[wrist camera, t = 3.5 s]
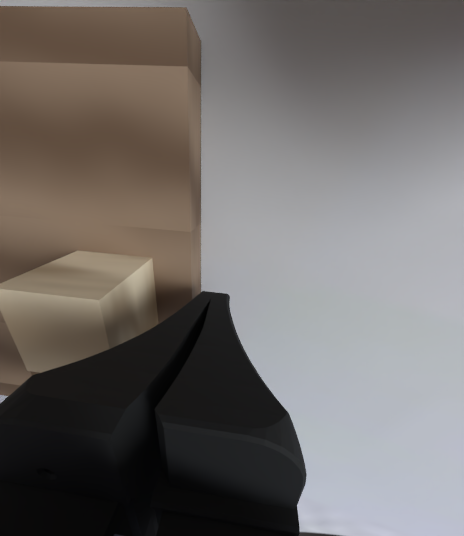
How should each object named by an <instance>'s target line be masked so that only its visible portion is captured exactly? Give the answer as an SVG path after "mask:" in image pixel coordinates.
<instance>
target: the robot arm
mask: <svg viewBox="0 0 464 536" xmlns="http://www.w3.org/2000/svg"><path fill="white" fill-rule="evenodd" d="M229 299H230V296H229V295H228V294H223V293H214V292H205V291H202V292H201V293H200V294H198V295H197V296H196V297H195V298H193V299H192V300H191V301H190V302H189V303H187V304H186V305H185V306H183V307H182V308H181V309H180V310H178V311H177V312H176V313H174V314H173V315H171V316H170V317H168V318H167V319H166V320H164V321H163V322H161V323H160V324H158V325H156V326H155V327H153V328H151V329H149V330H148V331H146V332H144V333H142V334H140V335H138V336H136V337H134V338H132V339H130V340H128V341H126V342H124V343H122V344H119V345H117V346H115V347H113V348H111V349H108V350H106V351H103V352H101V353H98V354H96V355H93V356H90V357H87V358H85V359H82V360H79V361H76V362H73V363H70V364H67V365H64V366H61V367H58V368H54V369H51V370H48V371H45V372H42V373H38V374H35V375H32V376H31V377H30V378H29V379H27V380H26V381H25V382H24V383H23V384H22V385H21V386H20V387H18V388H17V389H16V390H15V391H14V392H13V393H12V394H11V395H9V396H8V397H7V398H6V399H5V400H4V401H3V402H2V403H1V404H0V536H299V520H298V512H297V504H298V501H299V499H300V496H301V494H302V491H303V488H304V486H305V482H306V469H305V463H304V459H303V455H302V451H301V448H300V444H299V441H298V438H297V435H296V431H295V429H294V426H293V423H292V420H291V418H290V415H289V413H288V412H287V411H286V410H285V409H284V407H283V406H282V405H281V404H280V403H279V401H278V400H277V399H276V398H275V396H274V395H273V394H272V392H271V391H270V390H269V388H268V387H267V386H266V384H265V383H264V382H263V380H262V379H261V377H260V376H259V374H258V373H257V371H256V369H255V368H254V366H253V365H252V363H251V361H250V360H249V358H248V356H247V354H246V352H245V351H244V349H243V346H242V344H241V342H240V340H239V338H238V335H237V333H236V330H235V327H234V324H233V321H232V317H231V313H230V308H229Z"/></svg>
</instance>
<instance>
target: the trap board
mask: <svg viewBox="0 0 464 536" xmlns="http://www.w3.org/2000/svg"><path fill="white" fill-rule="evenodd" d="M75 251H86V252H97V253H107V254H117V255H128V256H138V257H148V258H152V261H153V271H154V282H155V292H156V302H157V313H158V324H160V323H161V322H163V321H164V320H166V319H167V318H168V317H170V316H171V315H173V314H174V313H176V312H177V311H178V310H180V309H181V308H182V307H183V306H185V305H186V304H187V303H189V302H190V301H191V300H192V299H193V298H195V297H196V296H197V295H198V294H200V293H201V40H200V38H199V36H198V33H197V31H196V29H195V26H194V24H193V22H192V19H191V17H190V15H189V12H188V10H187V8H181V7H28V6H0V283H3V282H5V281H7V280H10V279H12V278H14V277H17V276H19V275H22V274H24V273H26V272H29V271H31V270H33V269H36V268H38V267H40V266H43V265H45V264H47V263H50V262H52V261H54V260H57V259H59V258H61V257H64V256H66V255H68V254H71V253H73V252H75ZM158 324H157V325H158ZM38 373H39V372H32V371H27V369H26V367H25V364H24V362H23V360H22V358H21V355H20V353H19V351H18V349H17V346H16V344H15V342H14V340H13V338H12V335H11V333H10V331H9V329H8V326H7V324H6V322H5V320H4V317H3V315H2V313H1V311H0V395H6V396H9V395H11V394H12V393H13V392H14V391H15V390H16V389H17V388H18V387H20V386H21V385H22V384H23V383H24V382H25V381H26V380H27V379H29V378H30V377H31V376H32V375H35V374H38Z"/></svg>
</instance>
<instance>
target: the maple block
mask: <svg viewBox="0 0 464 536" xmlns="http://www.w3.org/2000/svg"><path fill="white" fill-rule="evenodd" d="M0 311H1V313H2V315H3V317H4V320H5V322H6V324H7V326H8V329H9V331H10V333H11V335H12V338H13V340H14V342H15V344H16V346H17V349H18V351H19V353H20V355H21V358H22V360H23V362H24V364H25V367H26V369H27V371H32V372H39V373H42V372H45V371H48V370H51V369H54V368H58V367H61V366H64V365H67V364H70V363H73V362H76V361H79V360H82V359H85V358H87V357H90V356H93V355H96V354H98V353H101V352H103V351H106V350H108V349H111V348H113V347H115V346H117V345H119V344H122V343H124V342H126V341H128V340H130V339H132V338H134V337H136V336H138V335H140V334H142V333H144V332H146V331H148V330H149V329H151V328H153V327H155V326H156V325H157V324H158V313H157V302H156V292H155V282H154V271H153V261H152V258H148V257H138V256H128V255H117V254H107V253H97V252H86V251H75V252H73V253H71V254H68V255H66V256H64V257H61V258H59V259H57V260H54V261H52V262H50V263H47V264H45V265H43V266H40V267H38V268H36V269H33V270H31V271H29V272H26V273H24V274H22V275H19V276H17V277H14V278H12V279H10V280H7V281H5V282H3V283H0Z"/></svg>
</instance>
